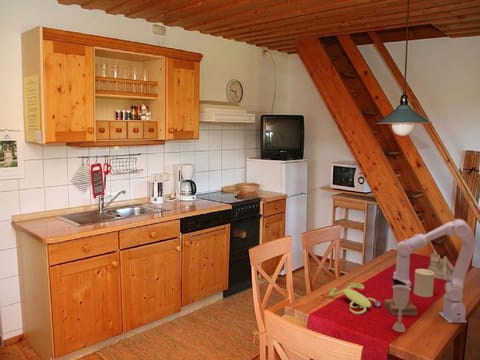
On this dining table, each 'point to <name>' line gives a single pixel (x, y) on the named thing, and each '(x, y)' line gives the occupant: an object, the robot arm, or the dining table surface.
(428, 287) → the can
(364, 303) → the figurine
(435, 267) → the ceramic cottage
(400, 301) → the chalice
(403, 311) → the plinth
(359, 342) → the dining table surface
